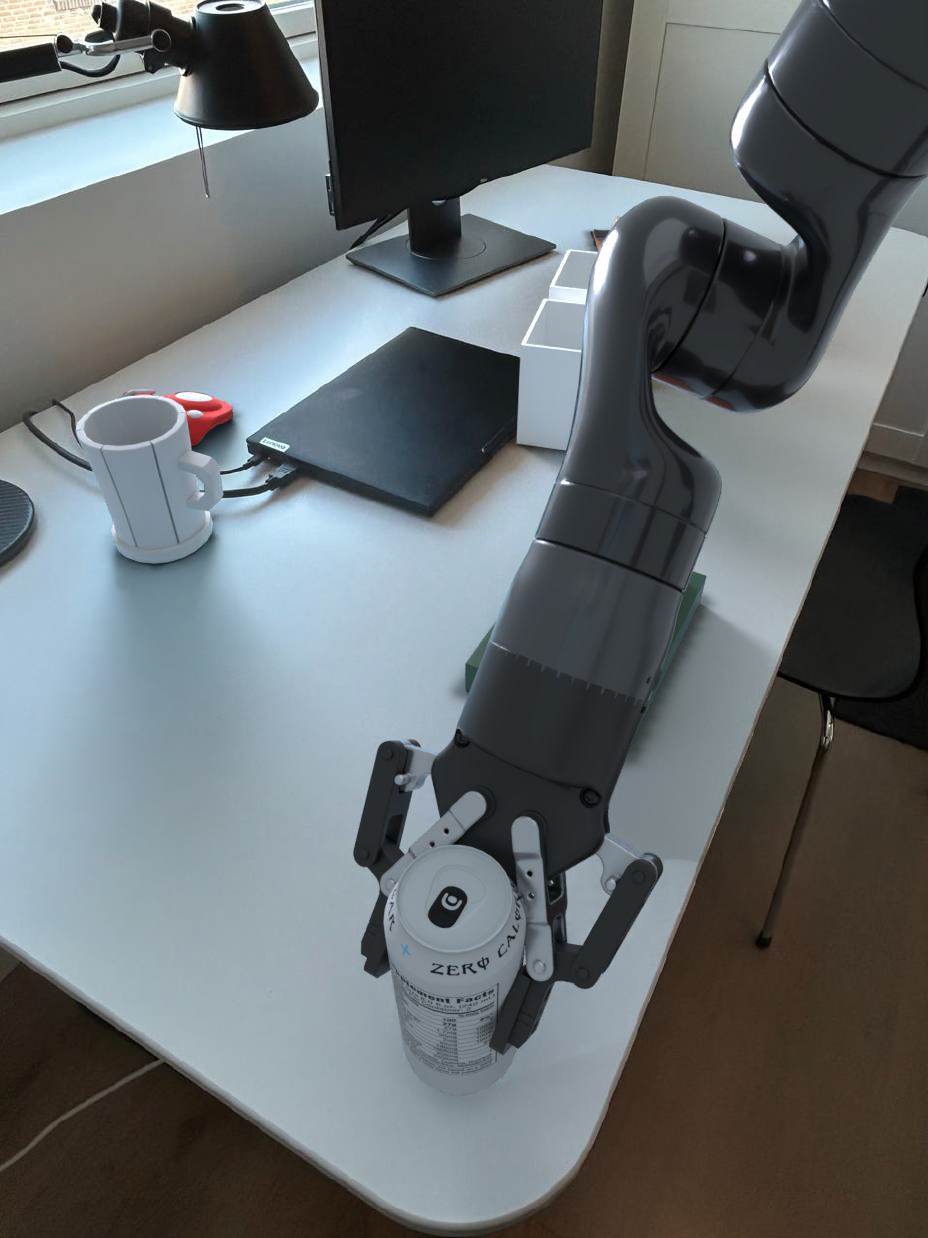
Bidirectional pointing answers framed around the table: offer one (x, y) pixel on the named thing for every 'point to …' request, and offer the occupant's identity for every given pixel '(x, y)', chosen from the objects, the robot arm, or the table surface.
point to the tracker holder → (196, 411)
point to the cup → (150, 477)
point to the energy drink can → (454, 964)
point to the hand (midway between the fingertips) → (439, 1006)
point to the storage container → (554, 357)
